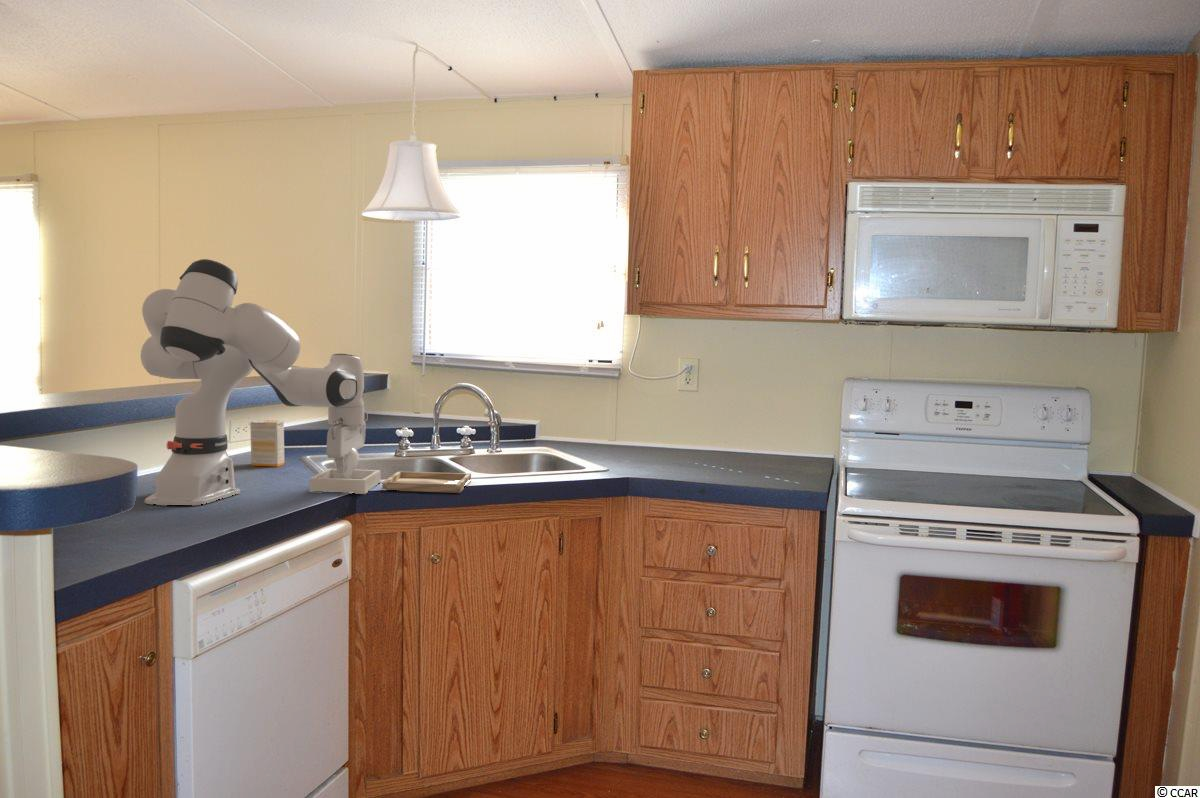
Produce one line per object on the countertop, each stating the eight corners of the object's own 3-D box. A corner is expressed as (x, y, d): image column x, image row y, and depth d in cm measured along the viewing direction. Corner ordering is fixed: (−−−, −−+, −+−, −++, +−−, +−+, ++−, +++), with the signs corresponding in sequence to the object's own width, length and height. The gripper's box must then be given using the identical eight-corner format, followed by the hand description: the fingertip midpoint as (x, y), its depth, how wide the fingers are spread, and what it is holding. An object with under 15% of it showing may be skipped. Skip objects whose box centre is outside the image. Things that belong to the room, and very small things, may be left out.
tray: (460, 492, 222) (460, 484, 221) (382, 490, 222) (382, 482, 222) (470, 481, 238) (471, 473, 237) (398, 478, 238) (398, 471, 238)
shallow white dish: (365, 493, 217) (365, 480, 217) (309, 492, 217) (309, 478, 217) (380, 483, 231) (380, 470, 231) (328, 481, 231) (328, 468, 231)
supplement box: (285, 464, 255) (284, 420, 254) (277, 467, 250) (277, 422, 249) (258, 463, 256) (257, 419, 254) (250, 466, 251) (249, 421, 250)
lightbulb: (349, 484, 229) (349, 442, 228) (363, 487, 225) (364, 445, 224) (328, 487, 224) (328, 445, 223) (342, 491, 220) (342, 448, 219)
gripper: (345, 422, 212) (345, 477, 213) (369, 412, 232) (369, 463, 234) (319, 421, 212) (319, 476, 214) (346, 412, 233) (346, 463, 234)
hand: (346, 470), depth 224 cm, fingers open, 6 cm apart
